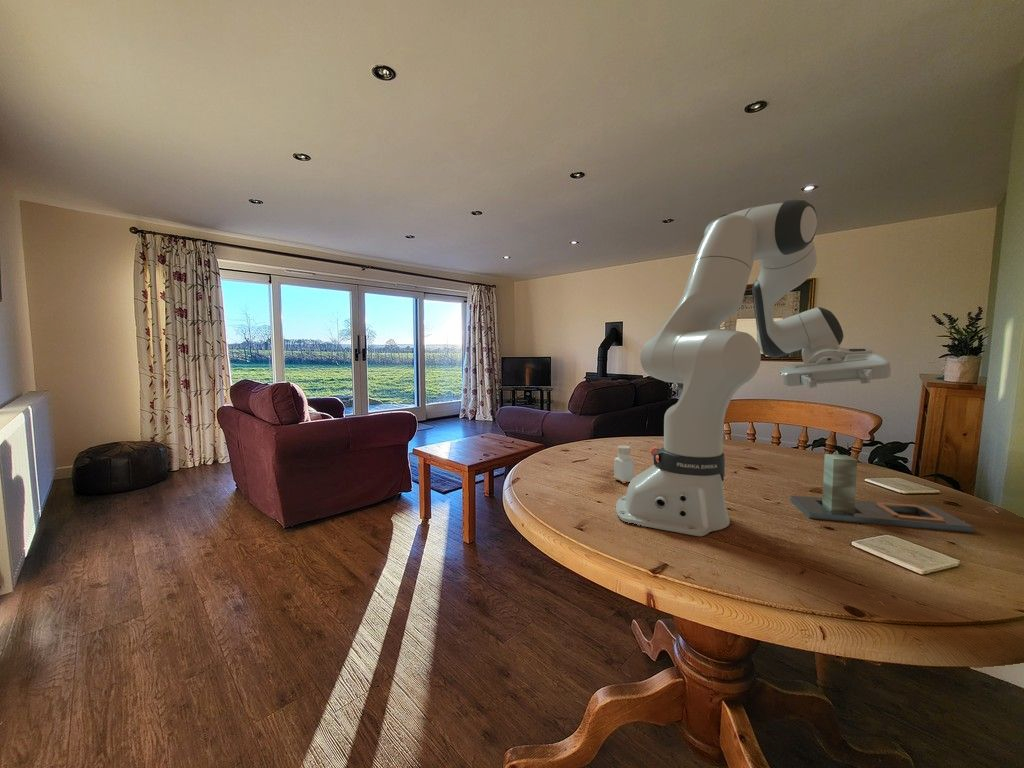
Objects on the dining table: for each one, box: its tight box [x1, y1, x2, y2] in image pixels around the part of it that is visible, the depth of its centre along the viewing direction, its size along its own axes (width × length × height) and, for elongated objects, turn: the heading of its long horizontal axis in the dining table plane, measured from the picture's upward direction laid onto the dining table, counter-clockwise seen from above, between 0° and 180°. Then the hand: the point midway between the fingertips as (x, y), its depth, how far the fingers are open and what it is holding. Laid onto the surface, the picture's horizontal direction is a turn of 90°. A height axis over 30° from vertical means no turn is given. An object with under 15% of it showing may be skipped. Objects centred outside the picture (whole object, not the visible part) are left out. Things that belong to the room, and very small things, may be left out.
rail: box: [789, 495, 975, 534], centre depth 81 cm, size 26×10×2 cm, turn 73°
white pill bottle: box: [613, 444, 635, 481], centre depth 105 cm, size 4×4×10 cm
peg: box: [822, 453, 858, 513], centre depth 83 cm, size 4×4×12 cm
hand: (838, 382), depth 90 cm, fingers open, 8 cm apart
